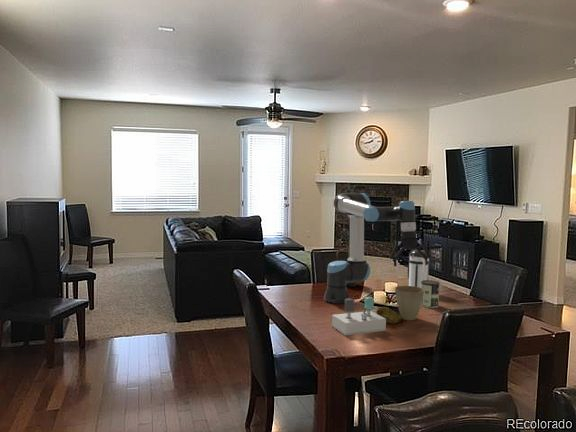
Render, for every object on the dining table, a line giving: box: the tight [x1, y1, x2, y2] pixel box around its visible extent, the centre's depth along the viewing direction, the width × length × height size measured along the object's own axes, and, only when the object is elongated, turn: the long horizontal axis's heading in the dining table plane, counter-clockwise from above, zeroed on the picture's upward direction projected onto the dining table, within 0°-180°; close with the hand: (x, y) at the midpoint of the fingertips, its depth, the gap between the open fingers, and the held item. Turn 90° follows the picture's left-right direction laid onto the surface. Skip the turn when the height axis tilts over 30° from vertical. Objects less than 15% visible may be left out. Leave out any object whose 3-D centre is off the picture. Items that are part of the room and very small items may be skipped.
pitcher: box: [335, 241, 358, 287], centre depth 331 cm, size 11×19×30 cm, turn 63°
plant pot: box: [394, 285, 424, 321], centre depth 254 cm, size 15×15×16 cm
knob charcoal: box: [344, 298, 355, 319], centre depth 233 cm, size 4×4×10 cm
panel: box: [331, 310, 387, 336], centre depth 236 cm, size 14×22×6 cm, turn 111°
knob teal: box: [363, 296, 375, 317], centre depth 237 cm, size 4×4×10 cm
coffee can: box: [421, 279, 440, 309], centre depth 281 cm, size 10×10×14 cm
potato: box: [376, 306, 403, 325], centre depth 247 cm, size 8×13×8 cm, turn 76°
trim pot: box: [361, 311, 367, 321], centre depth 231 cm, size 3×3×4 cm
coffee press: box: [407, 245, 430, 288], centre depth 315 cm, size 17×16×30 cm
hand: (411, 272), depth 246 cm, fingers open, 13 cm apart
